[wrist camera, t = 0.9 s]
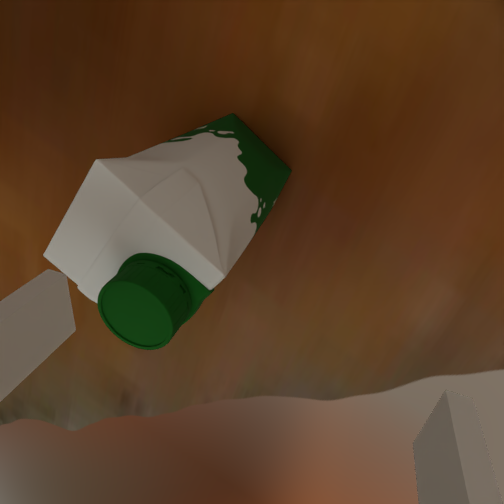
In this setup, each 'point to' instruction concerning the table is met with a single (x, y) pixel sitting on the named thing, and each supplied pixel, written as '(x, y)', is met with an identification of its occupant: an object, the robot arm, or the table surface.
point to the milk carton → (166, 226)
